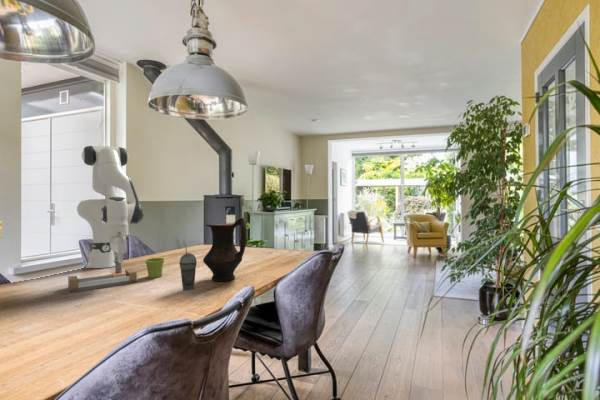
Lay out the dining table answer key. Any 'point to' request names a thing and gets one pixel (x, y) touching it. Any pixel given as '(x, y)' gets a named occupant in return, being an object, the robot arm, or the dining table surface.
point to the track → (100, 281)
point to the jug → (225, 250)
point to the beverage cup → (188, 270)
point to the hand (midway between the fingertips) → (118, 261)
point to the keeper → (118, 270)
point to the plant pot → (154, 267)
